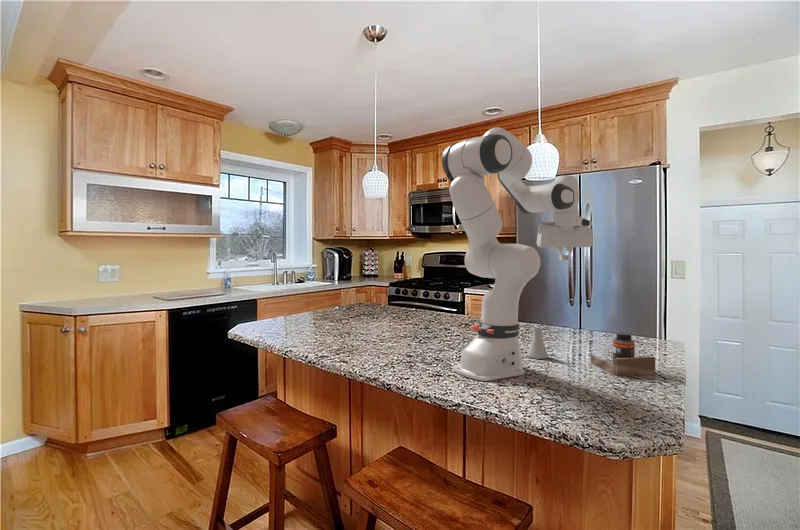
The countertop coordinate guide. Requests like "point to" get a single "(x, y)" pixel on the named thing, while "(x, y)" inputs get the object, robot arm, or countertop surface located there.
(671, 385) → the countertop surface
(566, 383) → the countertop surface
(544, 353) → the flask
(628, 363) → the walnut bay
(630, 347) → the supplement bottle
